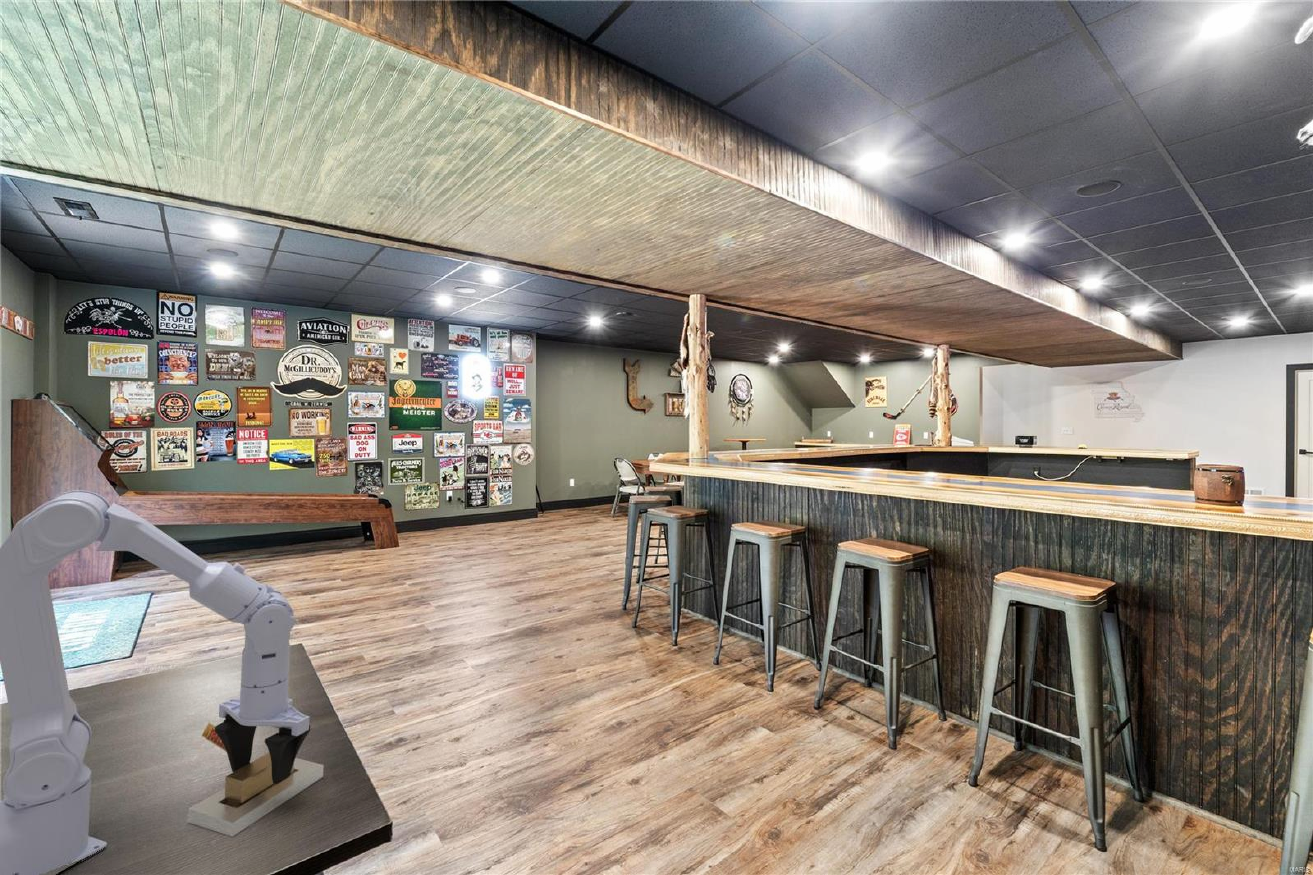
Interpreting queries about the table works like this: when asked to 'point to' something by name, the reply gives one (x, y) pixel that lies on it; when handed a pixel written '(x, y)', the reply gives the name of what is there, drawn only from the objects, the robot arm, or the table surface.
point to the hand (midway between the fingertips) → (260, 774)
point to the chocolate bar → (213, 736)
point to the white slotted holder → (252, 801)
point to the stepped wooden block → (249, 781)
